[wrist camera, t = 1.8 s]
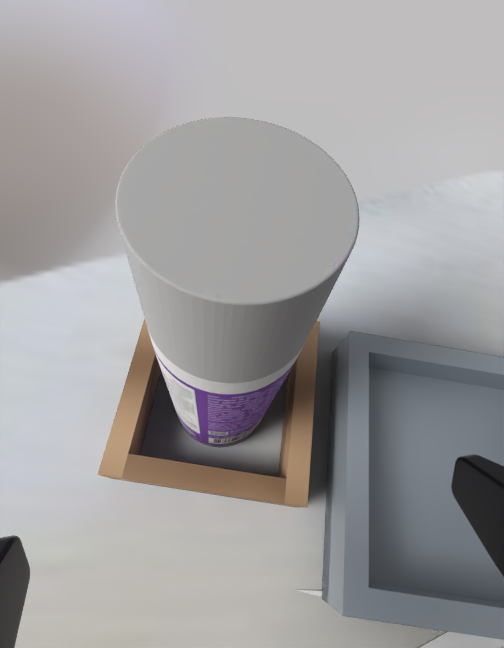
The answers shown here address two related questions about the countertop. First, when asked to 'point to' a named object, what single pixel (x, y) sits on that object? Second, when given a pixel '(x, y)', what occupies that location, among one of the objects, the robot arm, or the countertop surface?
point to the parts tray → (410, 485)
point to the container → (232, 261)
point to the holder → (280, 490)
